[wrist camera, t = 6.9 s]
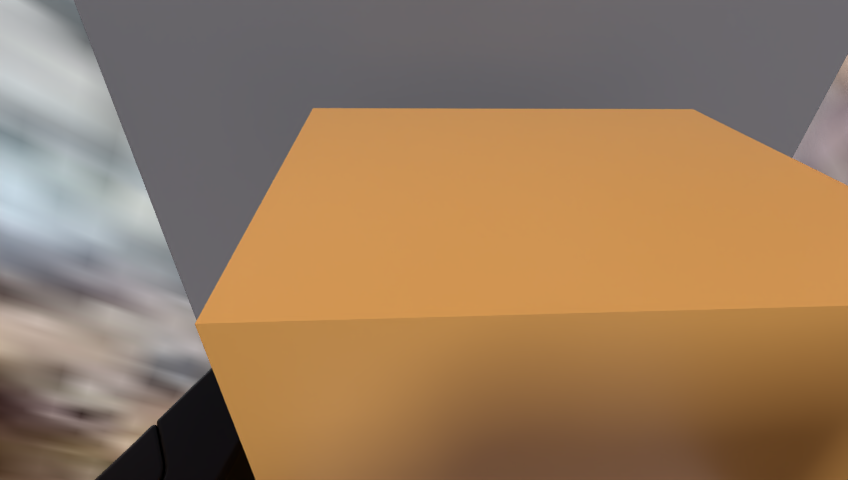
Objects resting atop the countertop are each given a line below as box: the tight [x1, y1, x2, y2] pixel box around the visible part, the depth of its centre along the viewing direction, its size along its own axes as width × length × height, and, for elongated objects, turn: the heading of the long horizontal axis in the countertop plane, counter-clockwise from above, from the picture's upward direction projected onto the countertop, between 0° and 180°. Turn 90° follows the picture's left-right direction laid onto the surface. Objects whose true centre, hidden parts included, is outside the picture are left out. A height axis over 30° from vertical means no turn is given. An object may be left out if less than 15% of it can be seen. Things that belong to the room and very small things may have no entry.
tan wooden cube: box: [195, 108, 848, 480], centre depth 7 cm, size 7×7×5 cm
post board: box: [74, 0, 848, 320], centre depth 10 cm, size 16×12×4 cm
